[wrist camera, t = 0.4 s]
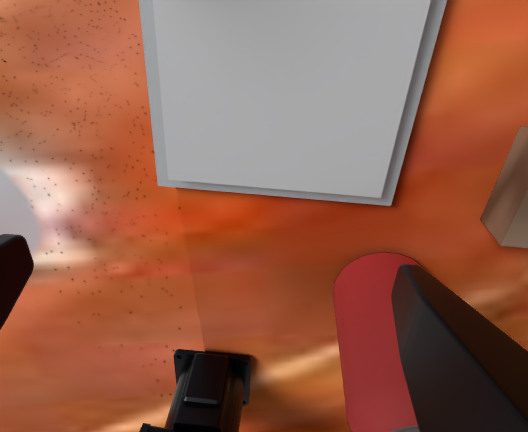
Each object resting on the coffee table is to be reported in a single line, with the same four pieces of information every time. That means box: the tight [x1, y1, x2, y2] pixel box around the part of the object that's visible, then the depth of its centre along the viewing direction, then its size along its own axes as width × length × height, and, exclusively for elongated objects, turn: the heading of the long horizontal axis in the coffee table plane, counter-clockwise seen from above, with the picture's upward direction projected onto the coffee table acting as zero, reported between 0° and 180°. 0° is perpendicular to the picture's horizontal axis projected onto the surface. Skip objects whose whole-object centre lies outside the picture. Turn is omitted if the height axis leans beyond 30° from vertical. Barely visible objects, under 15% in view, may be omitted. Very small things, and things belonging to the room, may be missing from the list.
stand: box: [139, 0, 447, 206], centre depth 19 cm, size 14×14×2 cm
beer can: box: [333, 252, 424, 432], centre depth 22 cm, size 7×7×12 cm
